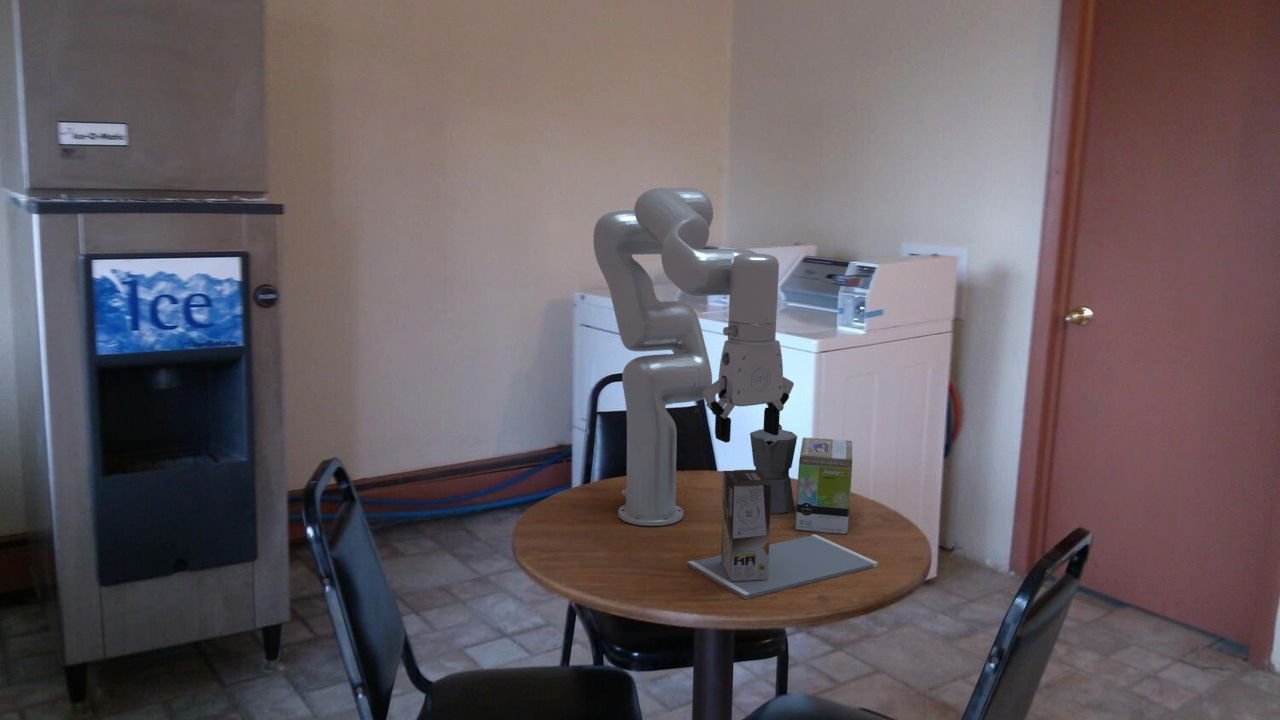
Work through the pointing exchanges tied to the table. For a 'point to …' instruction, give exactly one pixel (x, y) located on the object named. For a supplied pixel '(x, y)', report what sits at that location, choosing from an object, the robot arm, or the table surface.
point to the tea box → (824, 485)
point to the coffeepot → (775, 465)
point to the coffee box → (745, 525)
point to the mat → (790, 566)
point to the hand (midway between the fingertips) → (747, 436)
